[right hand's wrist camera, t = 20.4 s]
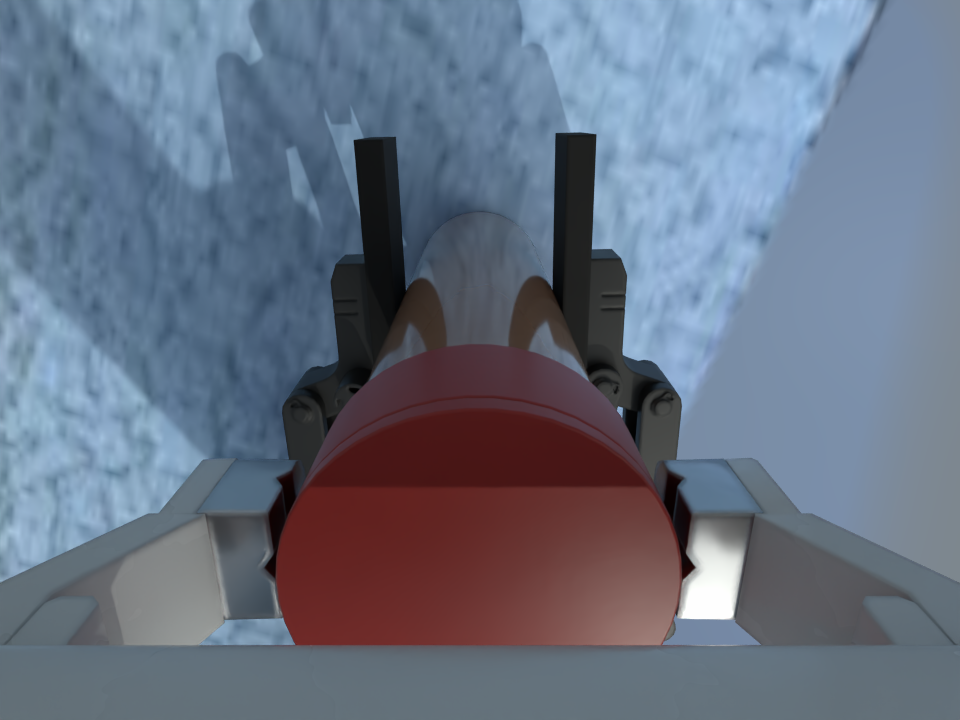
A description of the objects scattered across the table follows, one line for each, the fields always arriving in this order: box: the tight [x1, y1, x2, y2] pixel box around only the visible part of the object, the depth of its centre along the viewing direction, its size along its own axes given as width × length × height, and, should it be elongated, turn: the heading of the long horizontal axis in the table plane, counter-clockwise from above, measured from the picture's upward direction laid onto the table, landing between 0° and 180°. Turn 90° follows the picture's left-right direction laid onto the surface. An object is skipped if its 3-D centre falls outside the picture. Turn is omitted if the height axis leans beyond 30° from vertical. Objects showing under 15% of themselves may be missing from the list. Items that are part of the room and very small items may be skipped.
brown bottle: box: [367, 212, 592, 383], centre depth 17 cm, size 5×5×18 cm
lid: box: [276, 344, 682, 645], centre depth 9 cm, size 5×5×2 cm
